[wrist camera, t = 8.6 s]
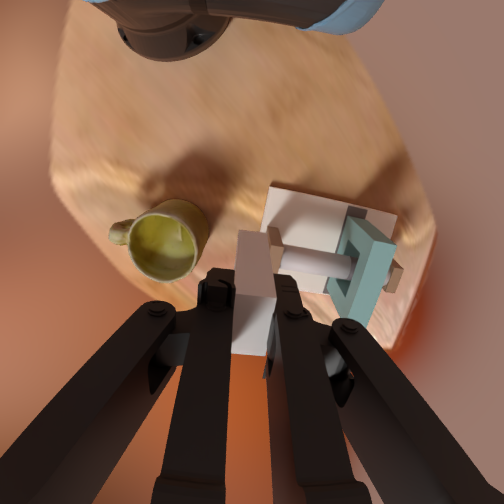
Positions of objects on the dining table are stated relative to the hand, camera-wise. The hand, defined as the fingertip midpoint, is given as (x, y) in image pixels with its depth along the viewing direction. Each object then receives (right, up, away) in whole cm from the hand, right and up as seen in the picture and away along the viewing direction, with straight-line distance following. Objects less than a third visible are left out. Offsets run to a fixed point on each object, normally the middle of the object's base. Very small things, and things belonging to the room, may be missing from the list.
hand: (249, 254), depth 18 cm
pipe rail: (+10, +1, +28) cm, 30 cm away
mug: (-12, +4, +27) cm, 29 cm away
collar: (+13, 0, +27) cm, 30 cm away
